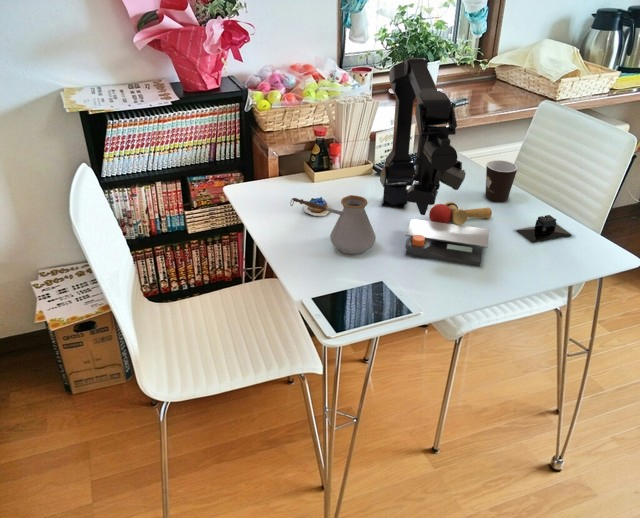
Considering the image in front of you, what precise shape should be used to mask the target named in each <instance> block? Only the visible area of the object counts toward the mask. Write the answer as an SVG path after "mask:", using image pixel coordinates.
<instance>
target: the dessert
mask: <svg viewBox="0 0 640 518" xmlns="http://www.w3.org/2000/svg"><path fill="white" fill-rule="evenodd" d="M309 202H314V203H316V204H319V205H322V206H325V207H327V208H331V207H330V205H329V204H328V202H327V201H326V199H324V198H323V196H320V197H316V198H314V197H311V199H310V200H309ZM303 211H304V212H305V213H307V214H309V215H311V216H315V217H324V216H327V215H328V214H329V213H330V212H329V211H326V210H321V209H317V208H313V207H309V206H307V205H304V207H303Z"/></svg>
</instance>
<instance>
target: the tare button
mask: <svg viewBox="0 0 640 518" xmlns="http://www.w3.org/2000/svg"><path fill="white" fill-rule="evenodd" d="M424 242H425V237H424V236H422V235H414V236H413V238H412V244H413V245H414V246H424Z"/></svg>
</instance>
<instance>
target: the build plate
mask: <svg viewBox="0 0 640 518" xmlns="http://www.w3.org/2000/svg"><path fill="white" fill-rule="evenodd" d="M516 232H517V233H518V234H520V235H521V236H522V237H524V238H525V239H526V240H527V241H528V242H529V243H531V244H535V243H543V242H548V241H554V240H558V239H564V238H565V239H567V238H571V237H572V235H573V234H572V233H570V232H569V231H567V230H566V229H565V228H563V227H562V226H560V225H559V224H557V219H556V218H555V217H554V216H552V215H550V214H547V215H541V216H537V219H536V221H535V225H534V226H531V227H530V226H529V227H525V228H519V229H516Z"/></svg>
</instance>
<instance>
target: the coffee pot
mask: <svg viewBox="0 0 640 518" xmlns="http://www.w3.org/2000/svg"><path fill="white" fill-rule="evenodd" d="M309 201H310V200H309ZM309 201H308V200H304V199H303V198H302V199H299V198H297V197H292V198H291V200H290V203H289V205H290V207H293V205H294V204H295V202H296V203H299V204H300V205H304V206H306V205H307V206H309V207H313V208H317V209H321V210H326V211H329V213H332V214H335V215H339V216H338V219H337V221H336V222H335V225H333V228H332V230H331V232H330V234H329V239H330V242H331V244H332V245H333V246H334V248H336V249H337V250H339V251H340V252H341V253H343V254H346V255H361V254H363V253H365V252H366V251H368V250H370V249H371V248H372V247H373V246H374V244H375V242H376V240H377V237H376V233H375V231H374V228H373V226H372V223H371V222H370V218H369V216H368V214H367V211H366V209H365V208H366V207H367V205H368V200H367V198H365V197H363V196H360V195H353V194H350V195H347V196H344V197H342V198H341V201H340V203H341V206H342V208H343V209H342V210H338V209H334V208H331V207H330V208H327V207H325V206H322V205H319V204H316V203H314V202H309Z"/></svg>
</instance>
